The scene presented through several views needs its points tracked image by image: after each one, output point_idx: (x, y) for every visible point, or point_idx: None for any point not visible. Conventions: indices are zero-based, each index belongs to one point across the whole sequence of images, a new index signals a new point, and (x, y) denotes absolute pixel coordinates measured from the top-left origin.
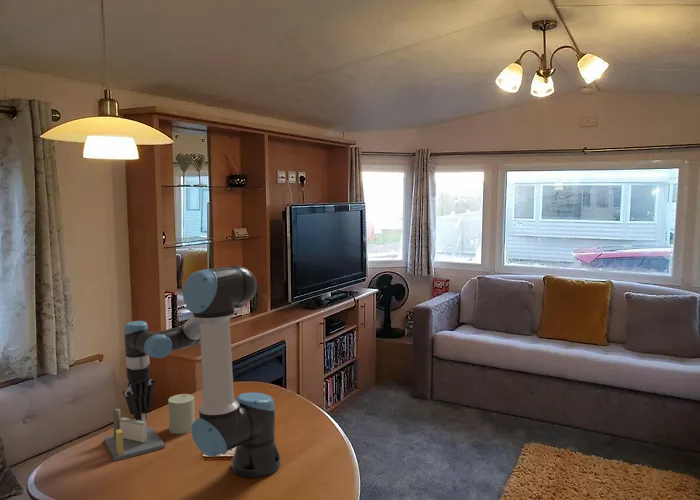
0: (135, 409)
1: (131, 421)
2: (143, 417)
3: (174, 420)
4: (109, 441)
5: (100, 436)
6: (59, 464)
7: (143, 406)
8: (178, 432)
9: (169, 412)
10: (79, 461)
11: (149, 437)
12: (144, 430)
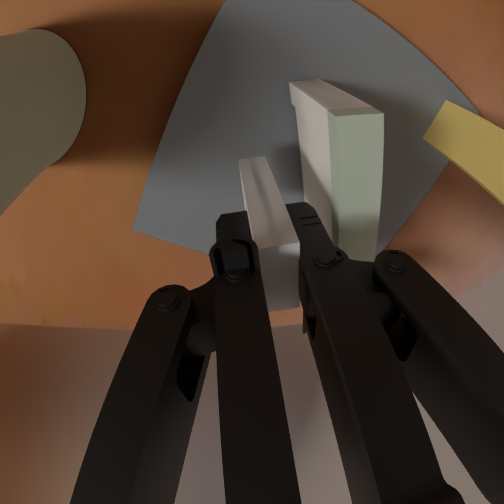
0: (438, 307)
1: (374, 245)
2: (278, 219)
3: (31, 86)
4: None
5: None
6: (492, 254)
7: (269, 330)
8: (65, 49)
9: (10, 171)
10: (481, 224)
11: (235, 114)
12: (338, 94)
